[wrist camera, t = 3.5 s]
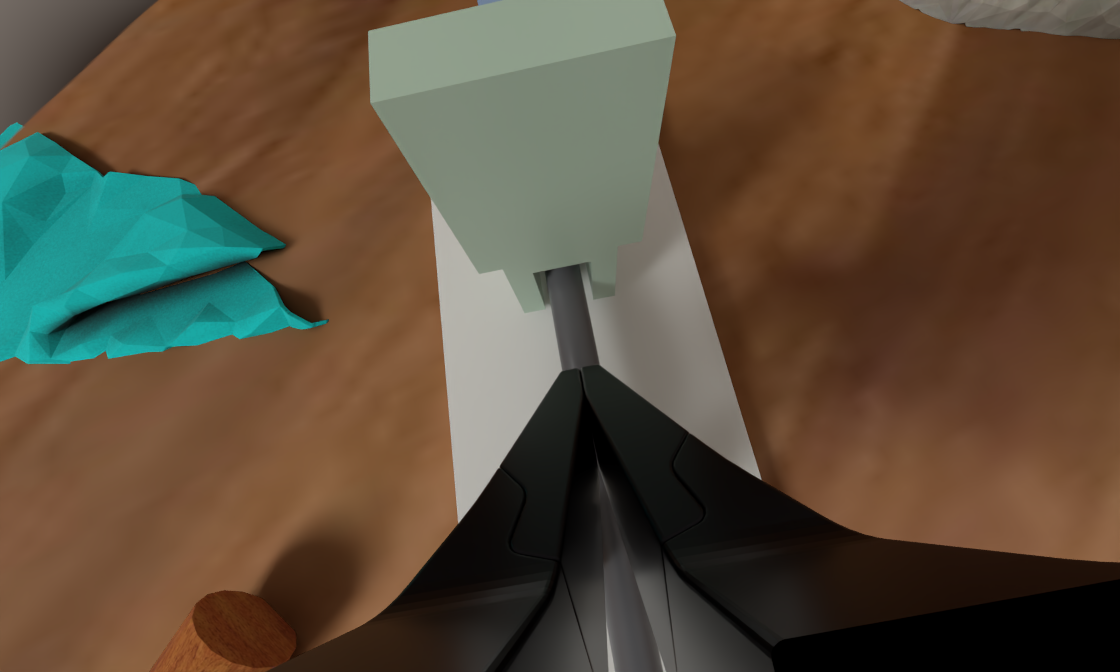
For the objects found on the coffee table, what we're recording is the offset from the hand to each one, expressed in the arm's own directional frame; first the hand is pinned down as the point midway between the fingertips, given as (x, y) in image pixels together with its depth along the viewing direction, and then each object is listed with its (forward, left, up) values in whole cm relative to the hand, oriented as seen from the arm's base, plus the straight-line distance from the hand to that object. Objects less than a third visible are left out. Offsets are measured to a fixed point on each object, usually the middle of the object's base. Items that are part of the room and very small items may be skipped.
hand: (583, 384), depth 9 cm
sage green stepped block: (+4, -5, -5) cm, 8 cm away
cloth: (+25, +5, -8) cm, 26 cm away
